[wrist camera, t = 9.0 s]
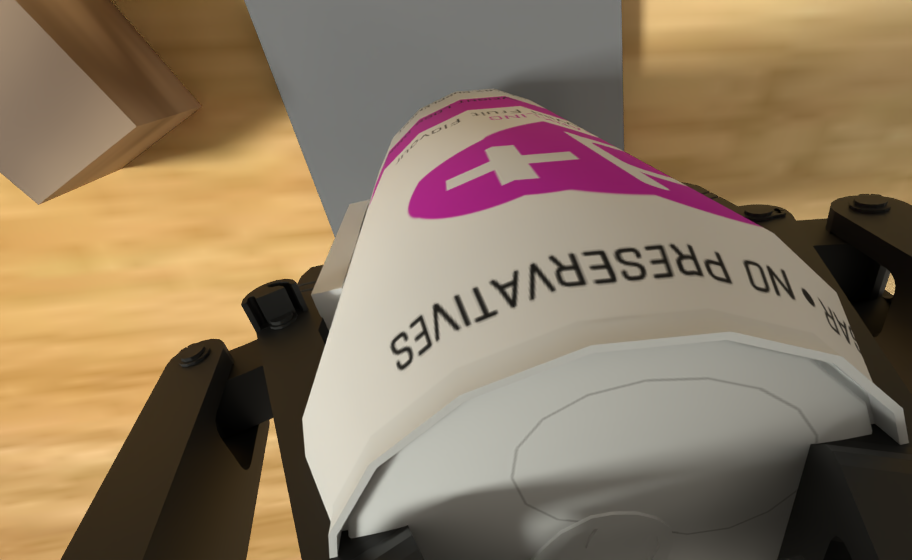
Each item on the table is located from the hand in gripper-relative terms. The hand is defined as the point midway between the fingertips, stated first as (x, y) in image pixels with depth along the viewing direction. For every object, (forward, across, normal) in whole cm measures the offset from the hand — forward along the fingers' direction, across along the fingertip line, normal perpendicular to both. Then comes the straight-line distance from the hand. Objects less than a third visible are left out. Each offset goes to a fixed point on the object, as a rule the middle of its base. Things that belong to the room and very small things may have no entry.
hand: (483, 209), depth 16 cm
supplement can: (+2, 0, 0) cm, 2 cm away
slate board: (+5, 0, 0) cm, 5 cm away
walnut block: (+5, -14, +7) cm, 17 cm away
